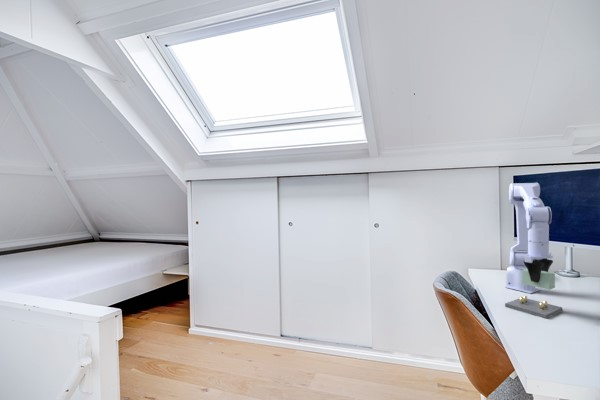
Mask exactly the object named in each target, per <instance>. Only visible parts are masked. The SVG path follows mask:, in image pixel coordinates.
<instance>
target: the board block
mask: <svg viewBox="0 0 600 400" xmlns="http://www.w3.org/2000/svg"><path fill="white" fill-rule="evenodd" d="M522 284H525V285H530V286H534V287H535V288H538V289H545V290H548V291H549V290H552V289H555V287H556V286H555V285H556V273H555V272H550V271H548V272H545V271H541V275H540V280H539V282H538V283H537V282H532V281H531V279H530V275H529V272H528V269H524V270H522Z"/></svg>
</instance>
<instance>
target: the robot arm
mask: <svg viewBox="0 0 600 400" xmlns="http://www.w3.org/2000/svg"><path fill="white" fill-rule="evenodd" d="M540 194H541V186H540V183H538V182H524V183H523V182H522V183H521V182H519V183H517V182H515V183H513V182H511V183H510V184H509V187H508V197H509V204H511V205H514V208H515V215H516V217H515V218H516V235H517V236H516V238H517V240H516V242H517V243H516V244H514V245H513V246H511V247H510V249H509V264H510V265H509V266H508V267H507V269H506V281H505V283H506V284H505V287H504V288H507V289H511V290H516V291H519V292H523V293H527V294H533V293H535V292H539V291H541V288H539V287H534V286H530V285H525V284H522V270H524V269H528V272H529V275H530V279H531V281H532V282H537V283H538V282H539V280H540V275H541V271H545V272H549V270H550V267H551V266H552V264H553V263H554V260H552V259H553V258H554V256H553V255H552V252H550V251H549V250H550V245H549V243H550V237H549V236H550V233H549V232H550V224H551V223H552V215H553V214H552V210H551V207H550V206H545V204H544V202H543V200H542V199H541V198H540Z"/></svg>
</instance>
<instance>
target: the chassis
mask: <svg viewBox="0 0 600 400" xmlns="http://www.w3.org/2000/svg"><path fill="white" fill-rule="evenodd" d="M504 306H505V308H508V309H511V310H515V311H519V312H522V313H526V314H528V315H532V316H535V317H539V318H544V319H548V318H550V317H552V316H555V315H557V314H559V313H561V312H563V307H562V306H558V305H554V304H551V303H548V301H547V300H542V301H539V300H534V299H531V298H530V299H529V298H528V296H527V295H523V296H520V297H518V298H517V299H514V300H511V301H507V302H505V303H504Z"/></svg>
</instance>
